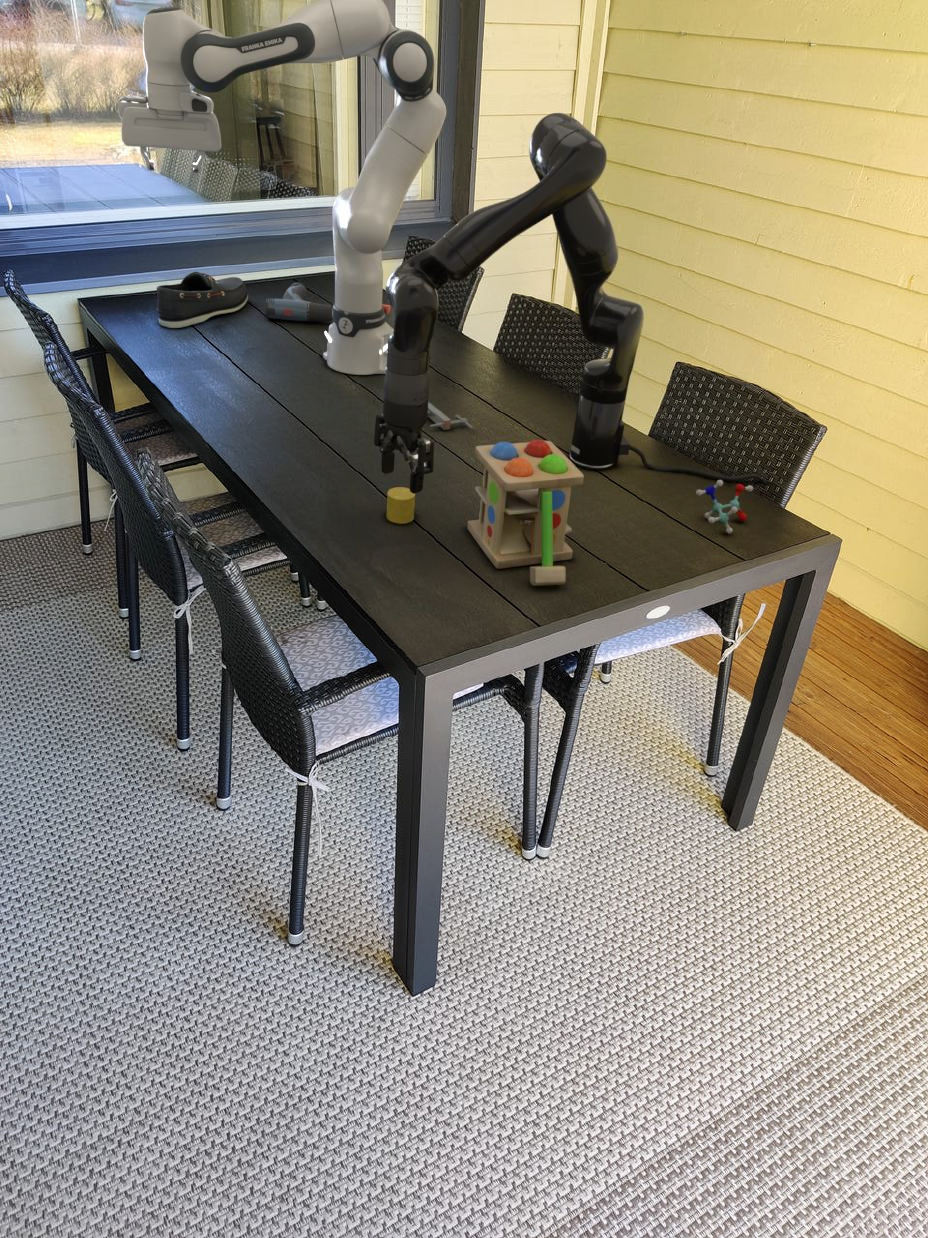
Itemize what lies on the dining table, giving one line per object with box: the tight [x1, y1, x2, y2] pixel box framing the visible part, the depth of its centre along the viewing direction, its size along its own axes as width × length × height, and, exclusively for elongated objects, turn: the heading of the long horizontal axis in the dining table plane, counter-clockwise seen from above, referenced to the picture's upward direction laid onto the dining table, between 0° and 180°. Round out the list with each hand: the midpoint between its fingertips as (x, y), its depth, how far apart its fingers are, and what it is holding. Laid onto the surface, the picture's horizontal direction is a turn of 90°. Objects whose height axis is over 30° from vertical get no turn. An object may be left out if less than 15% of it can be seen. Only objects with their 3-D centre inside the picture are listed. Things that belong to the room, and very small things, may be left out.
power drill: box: [264, 282, 333, 322], centre depth 265 cm, size 5×19×20 cm
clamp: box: [427, 401, 476, 432], centre depth 212 cm, size 15×2×10 cm
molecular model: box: [695, 479, 754, 535], centre depth 183 cm, size 12×10×10 cm
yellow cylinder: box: [386, 486, 416, 525], centre depth 175 cm, size 5×5×5 cm
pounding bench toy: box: [466, 439, 585, 587], centre depth 163 cm, size 23×14×18 cm, turn 20°
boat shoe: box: [155, 271, 249, 329], centre depth 258 cm, size 13×33×10 cm, turn 147°
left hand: (174, 171), depth 209 cm, fingers open, 8 cm apart
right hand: (401, 482), depth 172 cm, fingers open, 8 cm apart
